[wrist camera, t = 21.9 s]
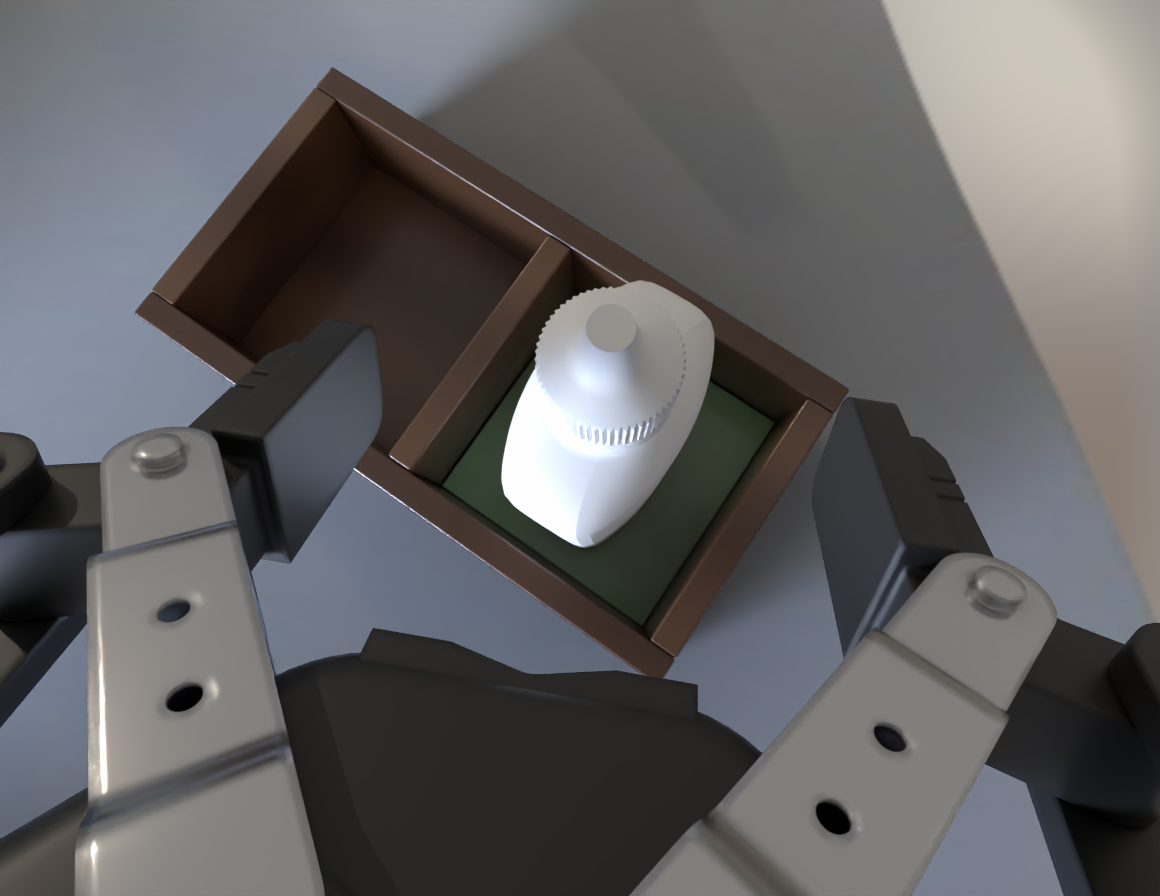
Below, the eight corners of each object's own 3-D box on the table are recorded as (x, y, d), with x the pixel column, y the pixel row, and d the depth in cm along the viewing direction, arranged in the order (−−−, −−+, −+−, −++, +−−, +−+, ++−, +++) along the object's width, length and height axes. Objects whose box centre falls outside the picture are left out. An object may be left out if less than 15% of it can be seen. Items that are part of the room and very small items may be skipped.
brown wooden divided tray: (648, 663, 21) (658, 686, 17) (214, 356, 23) (132, 312, 19) (806, 420, 22) (851, 388, 18) (377, 148, 24) (331, 65, 20)
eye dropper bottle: (723, 476, 21) (872, 364, 9) (562, 566, 21) (505, 567, 9) (651, 355, 22) (706, 111, 10) (494, 441, 22) (361, 293, 10)
